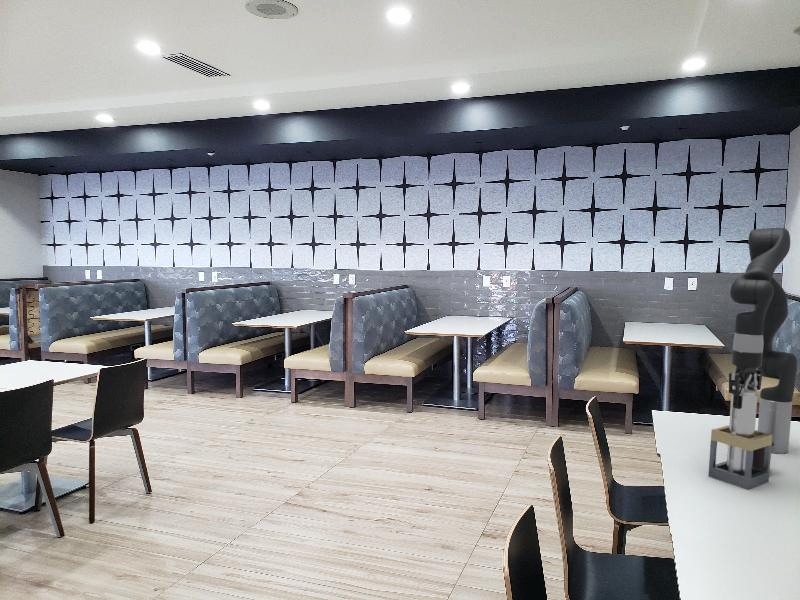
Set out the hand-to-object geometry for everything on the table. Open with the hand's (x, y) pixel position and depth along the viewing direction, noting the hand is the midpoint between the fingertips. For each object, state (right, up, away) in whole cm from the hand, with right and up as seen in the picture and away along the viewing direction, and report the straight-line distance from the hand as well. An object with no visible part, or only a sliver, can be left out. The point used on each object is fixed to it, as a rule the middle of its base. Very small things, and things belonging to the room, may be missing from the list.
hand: (743, 406), depth 177 cm
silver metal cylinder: (0, -20, +2) cm, 20 cm away
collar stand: (-1, -21, +2) cm, 22 cm away
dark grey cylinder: (+9, -21, +9) cm, 25 cm away
